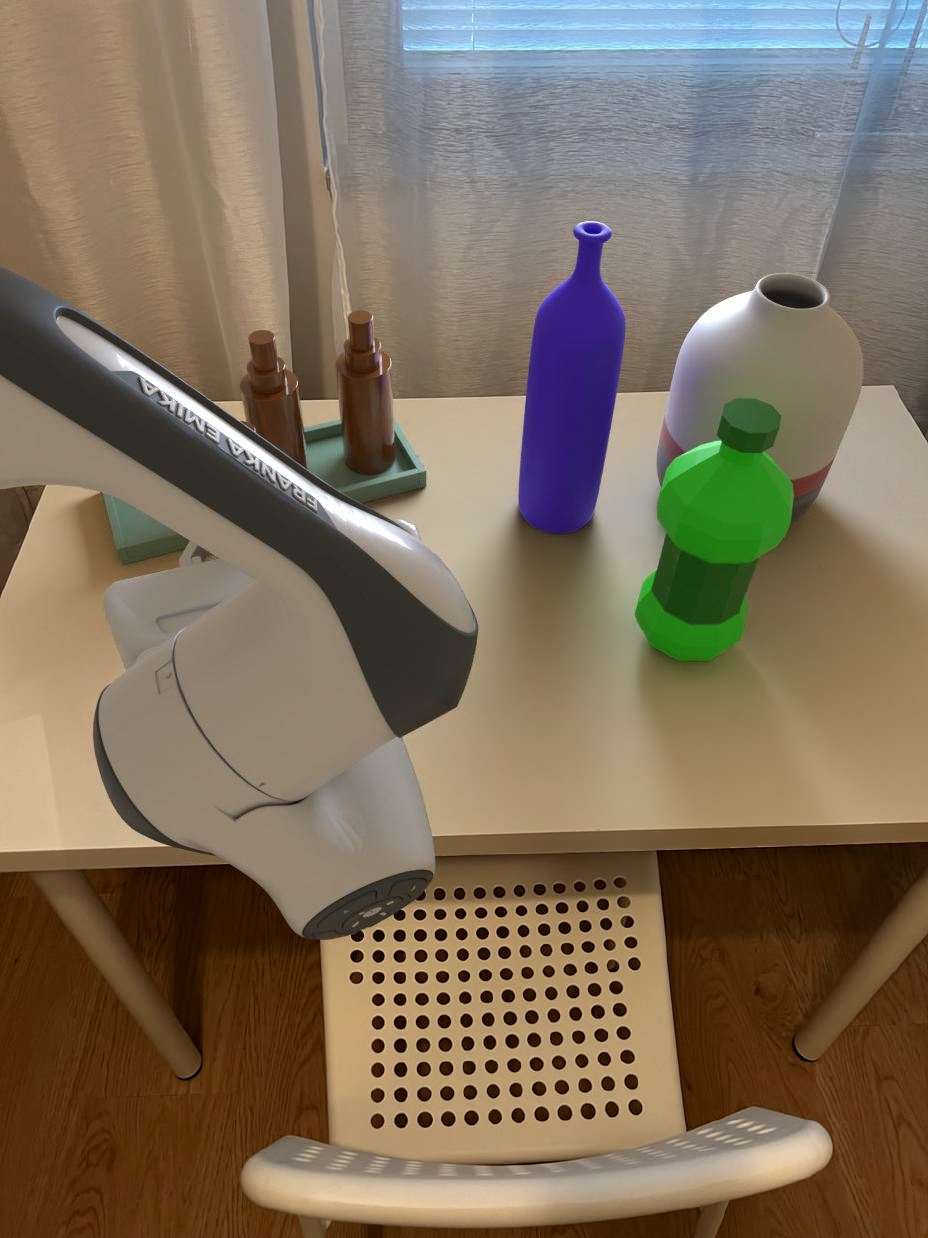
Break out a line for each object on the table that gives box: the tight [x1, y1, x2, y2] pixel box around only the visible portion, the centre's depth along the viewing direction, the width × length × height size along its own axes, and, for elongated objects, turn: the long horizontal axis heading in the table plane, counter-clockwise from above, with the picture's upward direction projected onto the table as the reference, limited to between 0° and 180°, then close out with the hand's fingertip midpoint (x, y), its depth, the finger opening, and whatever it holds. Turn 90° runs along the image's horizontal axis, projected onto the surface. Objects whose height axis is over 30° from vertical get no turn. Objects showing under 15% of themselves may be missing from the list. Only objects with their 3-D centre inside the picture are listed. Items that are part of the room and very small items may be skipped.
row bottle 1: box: [239, 329, 309, 470], centre depth 92 cm, size 6×6×17 cm
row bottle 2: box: [334, 309, 395, 475], centre depth 95 cm, size 6×6×17 cm
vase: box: [655, 272, 864, 526], centre depth 90 cm, size 17×17×24 cm
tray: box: [101, 417, 427, 566], centre depth 98 cm, size 32×12×2 cm, turn 113°
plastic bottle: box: [634, 398, 794, 662], centre depth 77 cm, size 10×10×25 cm
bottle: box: [517, 220, 627, 534], centre depth 86 cm, size 8×8×30 cm
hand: (250, 519), depth 64 cm, fingers closed on amber bottle, 5 cm apart
